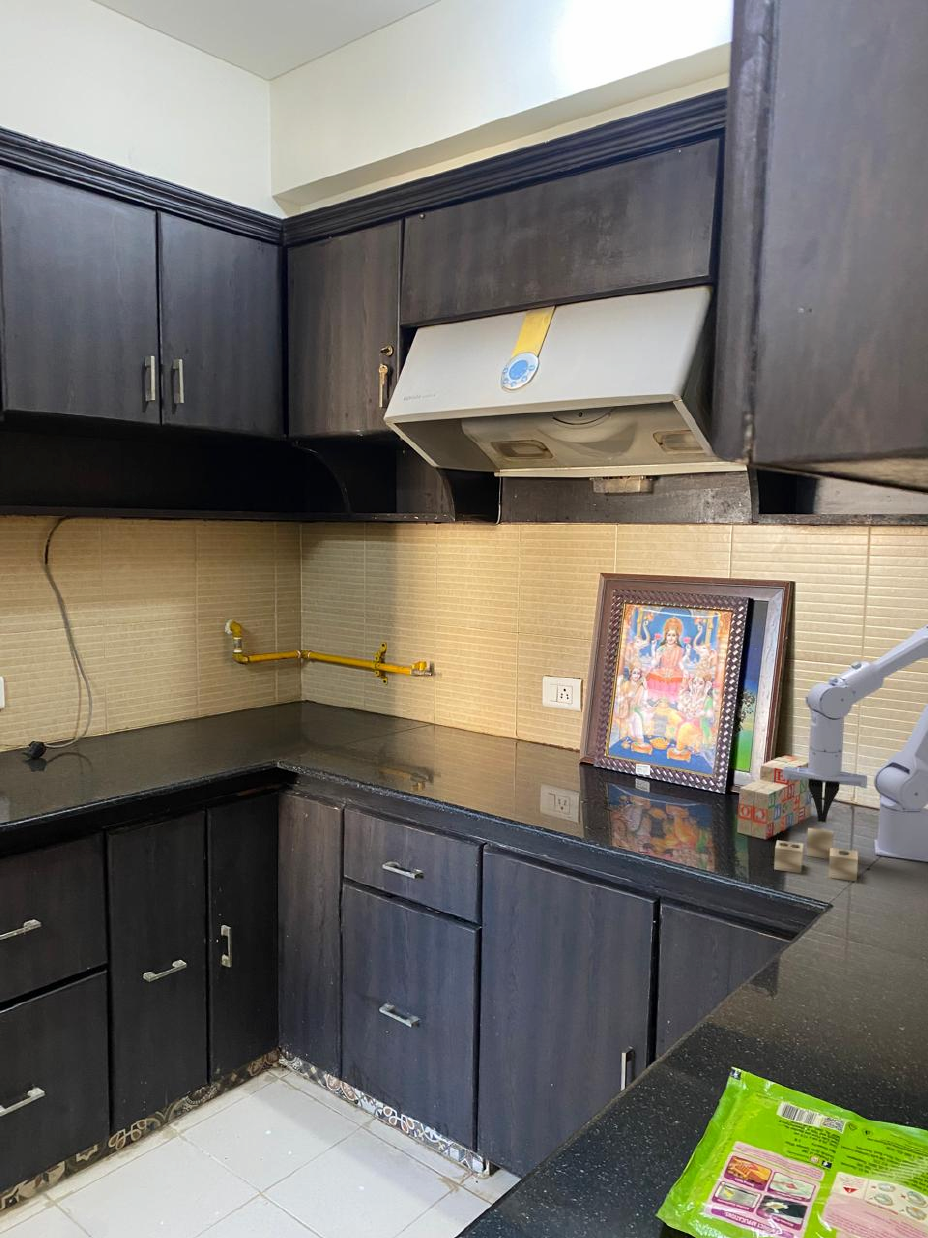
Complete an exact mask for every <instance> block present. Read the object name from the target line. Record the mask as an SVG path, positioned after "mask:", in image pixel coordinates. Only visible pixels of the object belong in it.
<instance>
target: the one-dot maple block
mask: <svg viewBox="0 0 928 1238" xmlns="http://www.w3.org/2000/svg"><path fill="white" fill-rule="evenodd" d="M858 861H859V851H858V850H852V849H851V850H850V849H846V848H845V849H843V848H836V847H833V848H830V859H829V864H828V878H829V879H830V878H831V879H838V880H843V881H844V880H845V881H849V882H857V880H858V879H857V878H858V864H859V862H858Z"/></svg>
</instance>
